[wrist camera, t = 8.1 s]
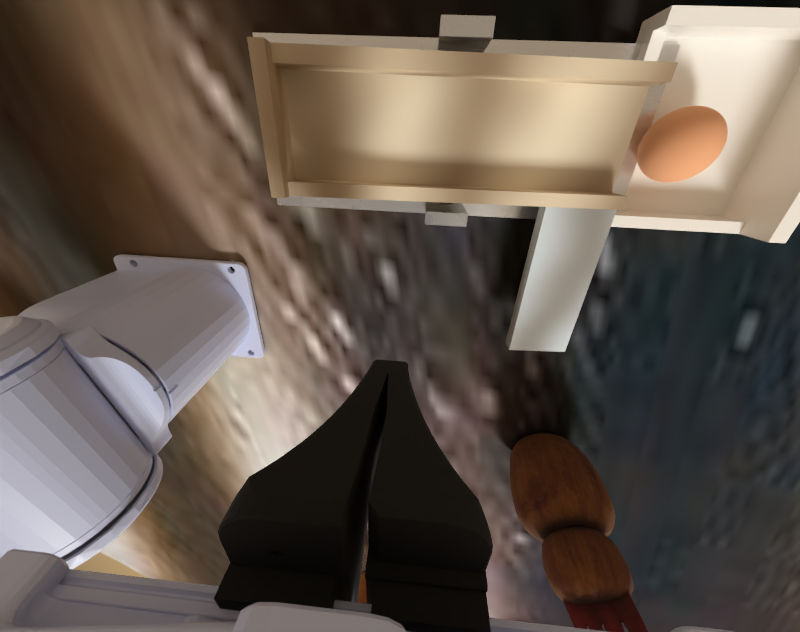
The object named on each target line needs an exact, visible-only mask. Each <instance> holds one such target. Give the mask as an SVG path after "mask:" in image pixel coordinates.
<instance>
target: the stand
mask: <svg viewBox="0 0 800 632" xmlns="http://www.w3.org/2000/svg"><path fill="white" fill-rule="evenodd" d="M495 19H496V16H476V15H441V19H440V29H439V38H429V37H394V36H359V35H325V34H290V33H255V32H252V33H253V37H264V38H265V39H266V40H268V41H269V42H276V43H296V44H317V45H337V46H357V47H377V48H398V49H418V50H438V51H468V52H479V53H499V54H519V55H539V56H560V57H580V58H600V59H620V60H637V58H638V55H639V52H640V49H641V46H642V44H636V43H602V42H567V41H532V40H498V39H492V38H493V33H494V26H495ZM680 46H681V45H671V44H663V46H662V49H661V52H660V55H659V57H658V60H657V61H661V62H675V59H676V56H677V54H678V51H679V48H680ZM665 86H666V83H664V84H659V85H655V86H650V87H649V89H648V92H647V95H646V98H645V101H644V104H643V106H642V109H641V112H640V115H639V118H638V121H637V124H636V126H635V129H634V132H633V135H632V138H631V141H630V143H629V146H628V149H627V152H626V155H625V158H624V161H623V163H622V166H621V169H620V172H619V175H618V178H617V181H616V183H615V186H614V189H613V192H612V193H616V194H620V195H624V196H625V194H626V191H627V188H628V186H629V183H630V180H631V178H632V175H633V172H634V170H635V167H636V164H637V151H638V147H639V144H640V142H641V139H642V137H643V136H644V134H645V133H646V132H647V130H648V129H649V128H650V126H651V124H652V121H653V118H654V116H655V113H656V110H657V108H658V105H659V102H660V99H661V97H662V94H663V91H664V89H665ZM277 203H278V205H289V206H307V207H325V208H343V209H361V210H379V211H396V212H414V213H425V224H429V225H446V226H464V227H466V224H467V217H468V216H486V217H504V218H522V219H536V218H537V214H538V210H539V207H537V206H514V205H490V204H466V203H453V204H450V205H447V204H440V203H439V202H418V201H395V200H371V199H347V198H323V197H299V196H289V197H287V198H277ZM617 211H619V210H617Z"/></svg>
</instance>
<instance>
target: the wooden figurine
mask: <svg viewBox="0 0 800 632" xmlns="http://www.w3.org/2000/svg"><path fill="white" fill-rule="evenodd" d="M510 481H511V491H512V497H513V502H514V506H515V510H516V513H517V515H518V517H519V519H520V521H521V523H522V525H523V526H524V528H525V529H526V530H527V532H529V533H530V534H531V535H532V536H533V537H535V538H536V539H537V540H539V541H541V542H543V544H542V559H543V566H544V570H545V573H546V576H547V579H548V581H549V583H550V585H551V587H552V589H553V590H554V592H555V593H556V594H557V596H558V597H559V598H560V599H561V600H562V601H563V602H564V604H565V606H566V608H567V611H568V613H569V615H570V618H571V620H572V622H573V625H574V627H575V628H581V629H588V628H589V629H590V630H598V631H604V630H603V626H604V627H605V629H606V631H607V632H624V629H623V624H624V625H625V627H626V628H627V630H628V632H648V631H647V629H646V627H645V624H644V622H643V620H642V618H641V616H640V614H639V612H638V610H637V608H636V606H635V604H634V602H633V600H632V598H631V594H632V592H633V590H634V585H633V580H632V575H631V573H630V570H629V568H628V566H627V563H626V561H625V560H624V558H623V556H622V555H621V553H620V551H619V550H618V548H617V547H616V545H615V544H614V543H613V542H612V540H611V539H610V538H608V537H607V536H608V535H610V534H611V532H612V530H613V528H614V522H615V512H614V508H613V505H612V502H611V499H610V497H609V495H608V493H607V491H606V488H605V486H604V484H603V482H602V480H601V478H600V476H599V475H598V473H597V471H596V470H595V468H594V467H593V465H592V464H591V462H590V461H589V460H588V458H587V457H586V456H585V455H584V454H583V453H582V452H581V451H580V450H579V448H578V447H576V446H575V445H573V444H572V443H571V442H569V441H568V440H567V439H565V438H564V437H562V436H558V435H554V434H550V433H538V434H532V435H529V436H526V437H524V438H522V439H521V440H519V441H518V442H517V443H516V445H515V446H514V448H513V449H512V453H511V457H510Z"/></svg>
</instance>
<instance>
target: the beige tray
mask: <svg viewBox="0 0 800 632" xmlns="http://www.w3.org/2000/svg"><path fill="white" fill-rule="evenodd" d="M247 41H248V48H249V54H250V60H251V67H252V73H253V80H254V86H255V93H256V99H257V106H258V112H259V119H260V125H261V132H262V138H263V145H264V151H265V158H266V164H267V171H268V177H269V184H270V190H271V197H272V198H287V197H289V196H299V197H323V198H347V199H371V200H395V201H418V202H439V203H440V204H447V205H450V204H453V203H466V204H490V205H514V206H537V207H539V210H538V214H537V218H536V222H535V226H534V230H533V234H532V238H531V242H530V246H529V250H528V254H527V258H526V262H525V266H524V270H523V274H522V278H521V282H520V286H519V291H518V295H517V299H516V303H515V307H514V311H513V315H512V319H511V323H510V327H509V331H508V335H507V339H506V345H507V347H508V349H509V350H527V351H555V352H565V350H566V347H567V344H568V342H569V339H570V336H571V334H572V331H573V328H574V325H575V323H576V320H577V317H578V315H579V312H580V309H581V306H582V304H583V301H584V298H585V295H586V293H587V290H588V287H589V285H590V282H591V279H592V276H593V274H594V271H595V268H596V265H597V263H598V260H599V257H600V255H601V252H602V249H603V246H604V244H605V241H606V238H607V235H608V233H609V230H610V227H611V225H612V222H613V219H614V216H615V214H616V211H617V210H623V208H624V205H625V203H626V200H627V197H628V196H624V195H620V194H616V193H612V192H613V189H614V186H615V183H616V181H617V178H618V175H619V172H620V169H621V166H622V163H623V161H624V158H625V155H626V152H627V149H628V146H629V143H630V141H631V138H632V135H633V132H634V129H635V126H636V124H637V121H638V118H639V115H640V112H641V109H642V106H643V104H644V101H645V98H646V95H647V92H648V89H649V87H650V86H655V85H659V84H664V83H668V82H671V80H672V78H673V75H674V72H675V70H676V67H677V64H678V62H661V61H641V60H620V59H600V58H580V57H560V56H539V55H519V54H499V53H479V52H468V51H438V50H418V49H398V48H377V47H357V46H337V45H317V44H296V43H276V42H269V41H268V40H266V39H265V38H264V37H247Z"/></svg>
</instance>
